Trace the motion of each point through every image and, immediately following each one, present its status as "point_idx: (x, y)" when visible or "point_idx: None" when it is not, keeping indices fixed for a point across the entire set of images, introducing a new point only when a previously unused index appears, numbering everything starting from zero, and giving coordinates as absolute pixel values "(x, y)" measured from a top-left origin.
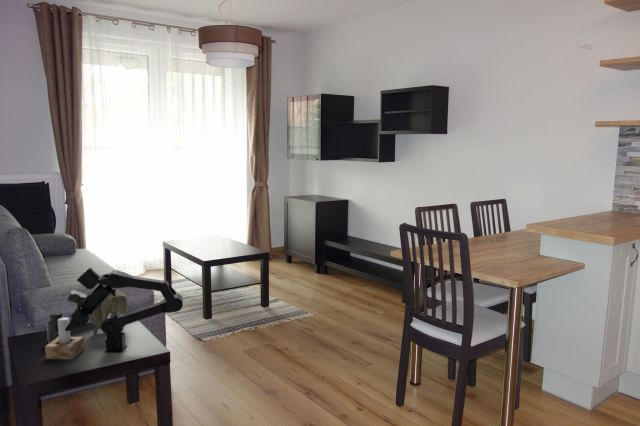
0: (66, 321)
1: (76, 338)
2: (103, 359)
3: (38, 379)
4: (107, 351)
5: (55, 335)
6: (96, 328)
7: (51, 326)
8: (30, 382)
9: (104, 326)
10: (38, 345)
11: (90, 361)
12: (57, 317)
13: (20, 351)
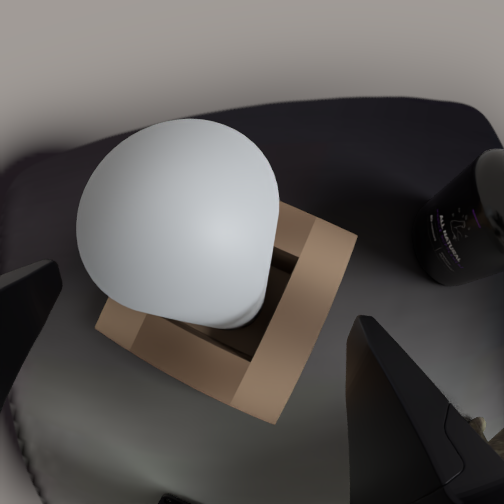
0: (92, 264)
1: (257, 373)
2: (82, 461)
3: (19, 202)
4: (159, 501)
5: (432, 223)
6: (483, 438)
7: (466, 177)
8: (16, 182)
9: None
10: (403, 165)
11: (75, 409)
12: None
13: (345, 106)
